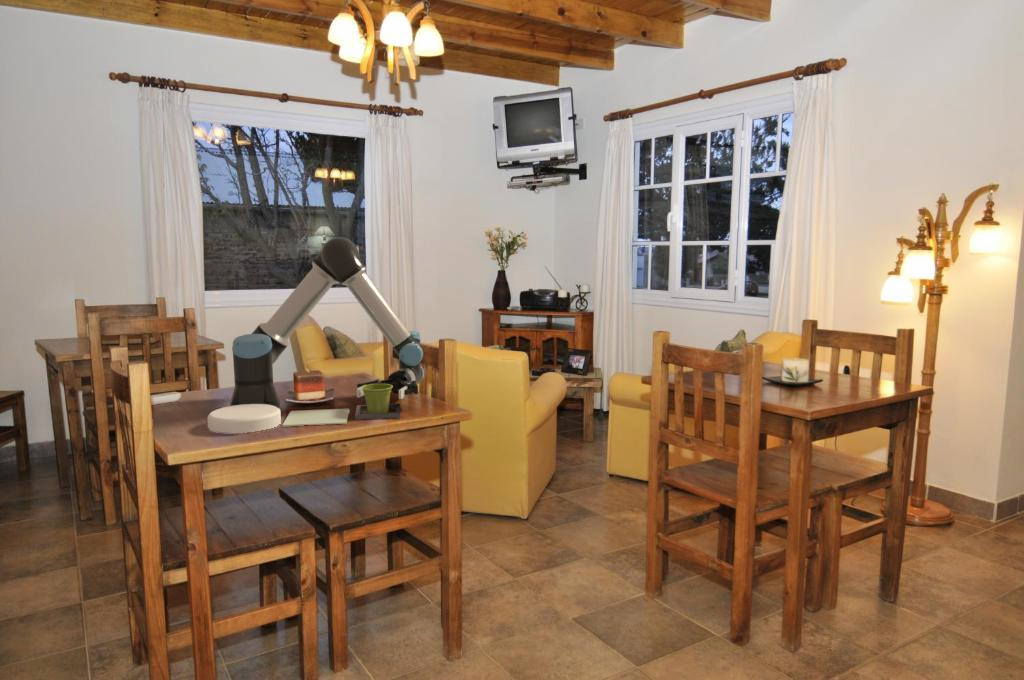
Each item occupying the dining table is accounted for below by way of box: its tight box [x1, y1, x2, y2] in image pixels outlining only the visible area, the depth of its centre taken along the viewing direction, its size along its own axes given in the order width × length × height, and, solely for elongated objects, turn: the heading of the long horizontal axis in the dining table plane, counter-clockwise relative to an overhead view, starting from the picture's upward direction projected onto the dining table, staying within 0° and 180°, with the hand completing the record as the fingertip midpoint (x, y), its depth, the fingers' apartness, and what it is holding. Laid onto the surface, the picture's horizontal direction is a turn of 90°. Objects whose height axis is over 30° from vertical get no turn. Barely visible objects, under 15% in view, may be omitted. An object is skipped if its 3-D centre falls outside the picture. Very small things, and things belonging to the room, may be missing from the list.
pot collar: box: [354, 403, 401, 421], centre depth 222 cm, size 13×13×2 cm
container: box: [206, 404, 282, 433], centre depth 208 cm, size 20×20×5 cm
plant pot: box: [362, 384, 393, 414], centre depth 221 cm, size 9×9×9 cm
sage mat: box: [281, 408, 350, 428], centre depth 217 cm, size 18×18×1 cm
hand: (378, 394), depth 221 cm, fingers open, 13 cm apart
